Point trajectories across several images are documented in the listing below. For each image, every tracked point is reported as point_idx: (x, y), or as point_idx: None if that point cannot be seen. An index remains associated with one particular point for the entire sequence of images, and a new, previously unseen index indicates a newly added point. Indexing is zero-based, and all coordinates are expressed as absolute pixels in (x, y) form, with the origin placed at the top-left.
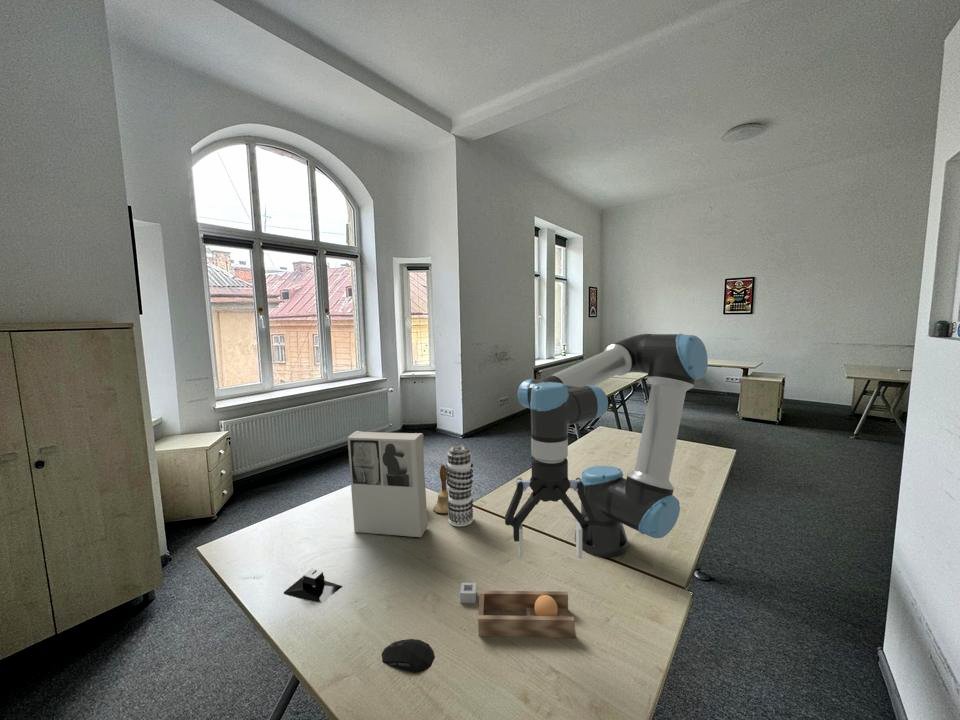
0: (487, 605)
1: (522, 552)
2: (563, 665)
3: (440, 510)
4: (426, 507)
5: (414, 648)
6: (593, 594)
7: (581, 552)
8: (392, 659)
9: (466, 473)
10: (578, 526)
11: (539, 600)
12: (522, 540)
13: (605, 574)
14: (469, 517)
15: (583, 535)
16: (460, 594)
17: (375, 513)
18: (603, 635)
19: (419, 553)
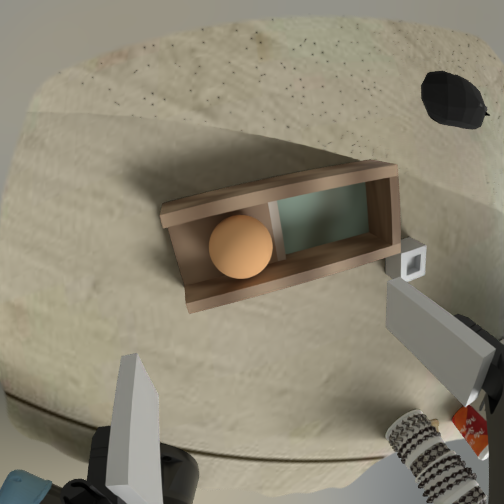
0: (370, 237)
1: (404, 292)
2: (185, 127)
3: (432, 423)
4: (472, 406)
5: (464, 97)
6: (134, 348)
7: (121, 376)
8: (475, 88)
9: (445, 490)
10: (139, 500)
11: (264, 248)
12: (442, 322)
13: None
14: (397, 433)
15: (107, 454)
16: (423, 244)
17: None
18: (100, 237)
19: None
